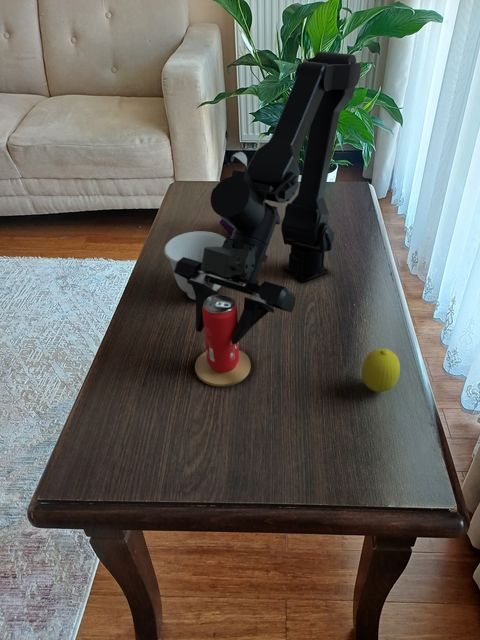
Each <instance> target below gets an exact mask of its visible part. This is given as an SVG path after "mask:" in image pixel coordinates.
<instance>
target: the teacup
mask: <svg viewBox="0 0 480 640" xmlns="http://www.w3.org/2000/svg"><path fill="white" fill-rule="evenodd" d="M226 238H227V237H225V236H223V235H222V234H219V233H216V232H212V231H202V230H201V231H200V230H197V231H189V232H184V233H182V234H178V235H176V236H174V237H172V238H171V239H170V240H169V241H168V242H166V244H165V246H164V249H163V252H164V255H165V256H166V258H167V259H168V260H169V261H170V264H171V268H172V271H173V275H174V278H175V281H176V283H177V285H178V287H179V289H180V290H182V291H183V292H184V293H186V295H187V297H188V298H190V300H194V301H196V299H195V293H194V290H193V287H192V285H190V284H189V283H187V279H185V278H184V277H182V276H180V275H178V274H176V273H174V269H175V266H176V263H177V262H178V261H179V260H180V259H181V258H183V257H185V258H188V259H192V260H195V261H199V262H202V259H203V253H204V248H205V247H222V246H223V243H224V241H225V240H226ZM221 287H222V286H219V285H216V284H214V286H213V290H215V291H217V292H218V290H219V289H220V288H221Z"/></svg>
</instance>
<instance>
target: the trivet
mask: <svg viewBox="0 0 480 640" xmlns="http://www.w3.org/2000/svg"><path fill="white" fill-rule="evenodd" d="M251 366H252V365H251V360H250V358H249V356H248V354H246V353H245V352H244V351H242V350H241V349H239V362H238V363H237V366H236V368H235V369H234V370H232V371H230V372H227V373H219V372H216V371H214V370H213V369H212V368H211V366H210V365H209V364H208V362H207V353H206V351H204V352H203V353H201V354H200V355H199V356H198V357H197V359H196V361H195V363H194V371H195V374H196V376H197V378H198V379H199V381H202V382H203V384H207V385H209V386H212V387H220V388H222V387H224V388H225V387H230V386H235V385H236V384H239V383H240V382H242V381H243V380H245V379H246V378H247V377H248V375H249V374H250V372H251V369H252V368H251Z"/></svg>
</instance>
